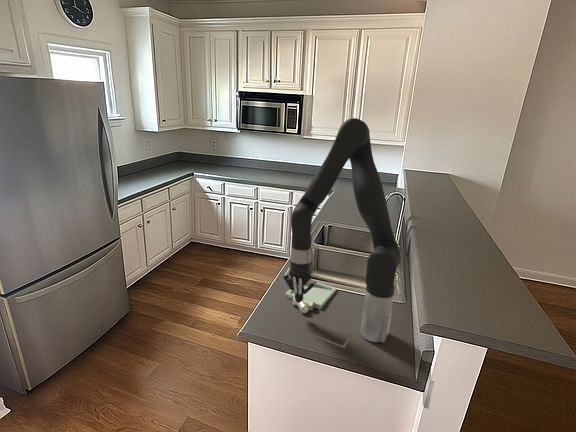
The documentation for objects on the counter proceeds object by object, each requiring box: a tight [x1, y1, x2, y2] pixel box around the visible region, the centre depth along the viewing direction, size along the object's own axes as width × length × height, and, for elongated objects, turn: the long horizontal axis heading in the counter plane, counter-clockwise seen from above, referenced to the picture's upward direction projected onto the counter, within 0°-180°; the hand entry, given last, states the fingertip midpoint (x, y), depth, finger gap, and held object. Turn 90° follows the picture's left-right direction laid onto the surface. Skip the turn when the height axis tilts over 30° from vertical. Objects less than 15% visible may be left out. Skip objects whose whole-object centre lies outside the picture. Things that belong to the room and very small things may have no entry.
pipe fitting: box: [292, 297, 315, 314], centre depth 131 cm, size 8×4×7 cm
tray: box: [285, 281, 337, 310], centre depth 142 cm, size 16×16×2 cm
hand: (298, 301), depth 126 cm, fingers closed
